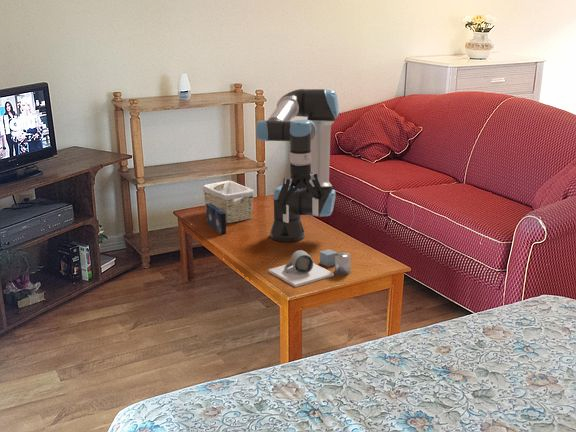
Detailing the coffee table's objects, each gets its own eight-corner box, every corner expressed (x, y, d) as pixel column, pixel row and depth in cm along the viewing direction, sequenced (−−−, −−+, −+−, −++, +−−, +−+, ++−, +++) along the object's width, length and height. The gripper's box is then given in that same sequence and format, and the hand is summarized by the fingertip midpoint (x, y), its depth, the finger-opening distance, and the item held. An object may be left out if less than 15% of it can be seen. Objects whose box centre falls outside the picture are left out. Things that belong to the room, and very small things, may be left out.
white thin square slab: (306, 261, 271) (306, 259, 271) (333, 275, 257) (333, 273, 256) (268, 271, 261) (268, 269, 261) (295, 287, 247) (295, 284, 247)
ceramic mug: (308, 265, 264) (307, 247, 262) (313, 273, 257) (313, 254, 254) (281, 268, 262) (281, 250, 260) (286, 276, 254) (286, 257, 252)
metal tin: (343, 267, 264) (343, 251, 262) (353, 272, 260) (353, 255, 257) (331, 271, 261) (331, 254, 259) (341, 276, 256) (341, 259, 254)
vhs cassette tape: (226, 234, 304) (225, 213, 300) (220, 235, 302) (219, 214, 299) (212, 222, 319) (211, 202, 316) (206, 223, 318) (205, 203, 315)
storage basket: (202, 213, 334) (201, 184, 330) (231, 207, 343) (230, 179, 338) (226, 225, 315) (225, 195, 311) (256, 219, 324) (255, 189, 319)
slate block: (329, 260, 272) (329, 248, 270) (337, 264, 268) (337, 252, 267) (319, 263, 269) (319, 251, 268) (327, 267, 265) (327, 255, 264)
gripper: (277, 170, 236) (278, 227, 243) (333, 160, 249) (333, 214, 256) (266, 166, 242) (267, 222, 248) (321, 156, 255) (321, 209, 262)
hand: (300, 218), depth 252 cm, fingers open, 13 cm apart
